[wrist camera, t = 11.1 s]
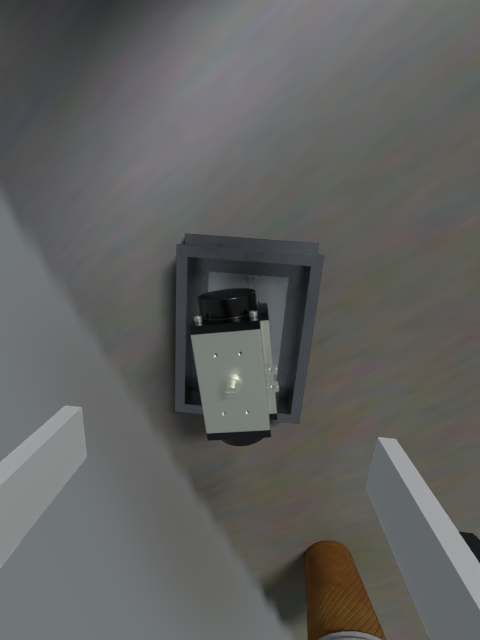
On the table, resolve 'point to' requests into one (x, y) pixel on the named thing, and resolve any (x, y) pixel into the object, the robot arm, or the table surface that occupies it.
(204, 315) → the pneumatic valve
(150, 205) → the table surface
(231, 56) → the table surface
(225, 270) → the rectangular open-top bin
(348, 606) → the disposable coffee cup
